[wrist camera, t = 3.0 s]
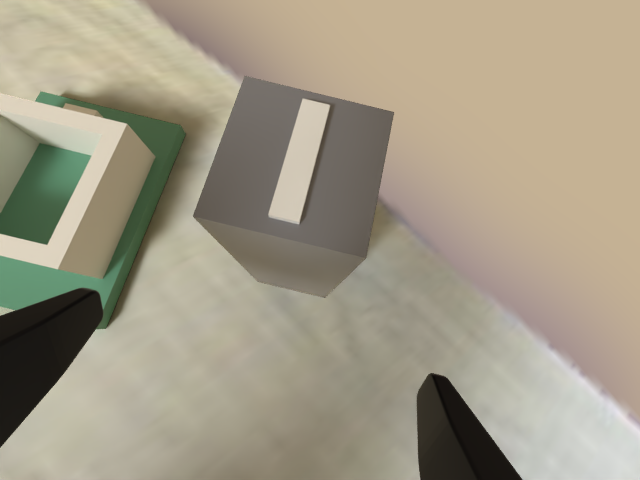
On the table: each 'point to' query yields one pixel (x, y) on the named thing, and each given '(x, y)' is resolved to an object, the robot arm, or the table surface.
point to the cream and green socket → (76, 195)
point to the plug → (296, 185)
